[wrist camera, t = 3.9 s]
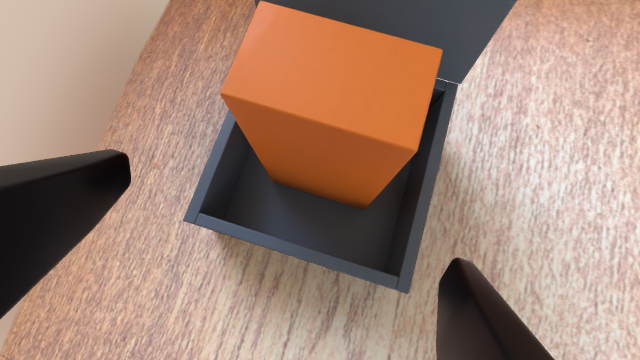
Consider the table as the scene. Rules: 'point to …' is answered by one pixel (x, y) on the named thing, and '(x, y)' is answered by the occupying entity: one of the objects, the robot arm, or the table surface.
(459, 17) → the lid
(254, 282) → the table surface
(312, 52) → the plate
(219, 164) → the blue gray box
